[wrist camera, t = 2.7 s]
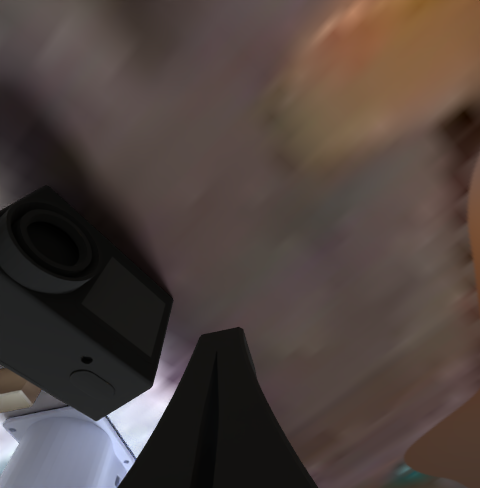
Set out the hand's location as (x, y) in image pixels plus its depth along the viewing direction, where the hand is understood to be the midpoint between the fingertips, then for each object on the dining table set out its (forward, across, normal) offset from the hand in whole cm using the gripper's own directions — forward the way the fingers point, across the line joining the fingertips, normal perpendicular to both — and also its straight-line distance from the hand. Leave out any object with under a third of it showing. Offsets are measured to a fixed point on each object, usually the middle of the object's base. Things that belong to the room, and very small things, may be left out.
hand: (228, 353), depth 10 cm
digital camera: (+10, +8, 0) cm, 13 cm away
